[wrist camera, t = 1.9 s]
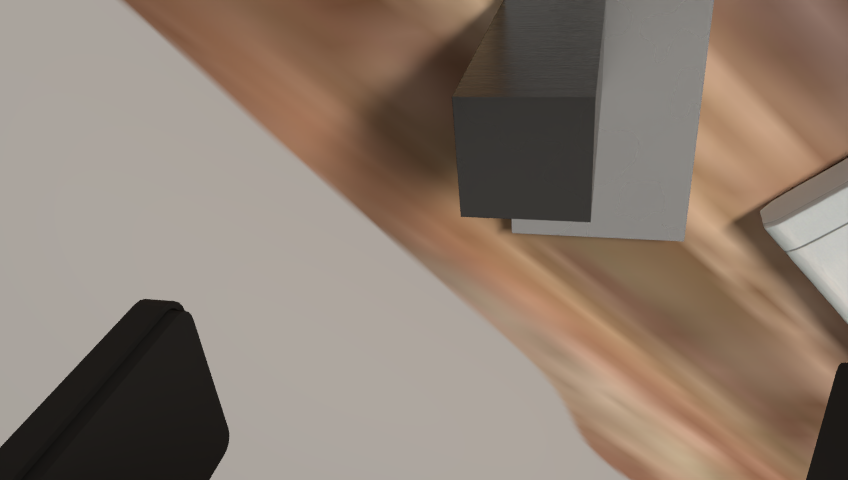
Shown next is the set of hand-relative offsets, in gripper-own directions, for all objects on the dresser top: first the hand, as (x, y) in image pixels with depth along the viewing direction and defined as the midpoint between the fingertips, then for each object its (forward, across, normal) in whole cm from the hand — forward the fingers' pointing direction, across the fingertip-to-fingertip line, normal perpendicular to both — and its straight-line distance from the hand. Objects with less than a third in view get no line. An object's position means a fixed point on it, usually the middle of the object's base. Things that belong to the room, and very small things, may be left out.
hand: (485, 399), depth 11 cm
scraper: (+16, -1, -1) cm, 16 cm away
